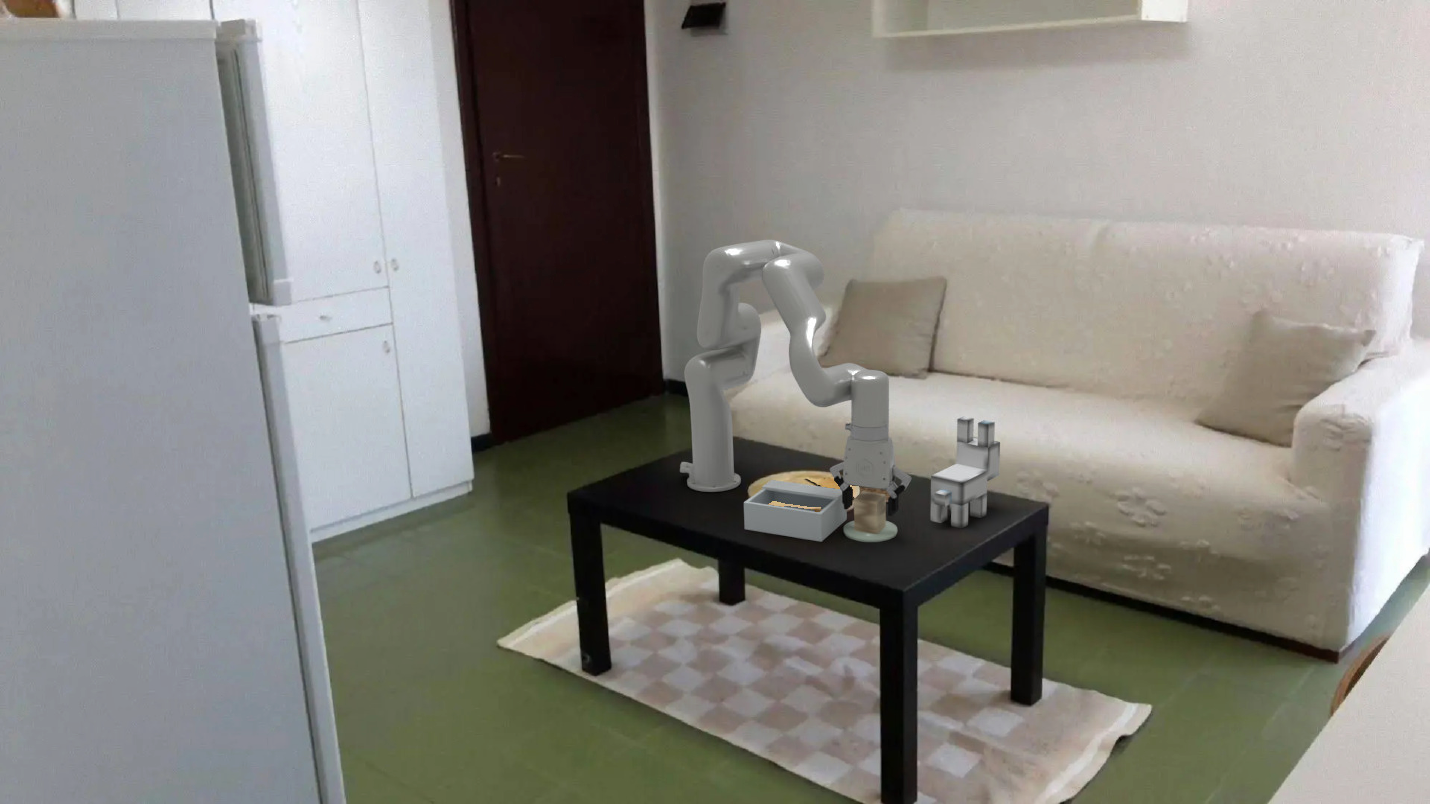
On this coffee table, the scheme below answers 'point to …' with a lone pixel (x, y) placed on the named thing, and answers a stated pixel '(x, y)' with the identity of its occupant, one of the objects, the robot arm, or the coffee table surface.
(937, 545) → the coffee table surface
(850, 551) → the coffee table surface
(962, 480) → the toy llama
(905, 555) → the coffee table surface
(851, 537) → the sage saucer
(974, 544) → the coffee table surface
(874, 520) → the maple block
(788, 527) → the box
